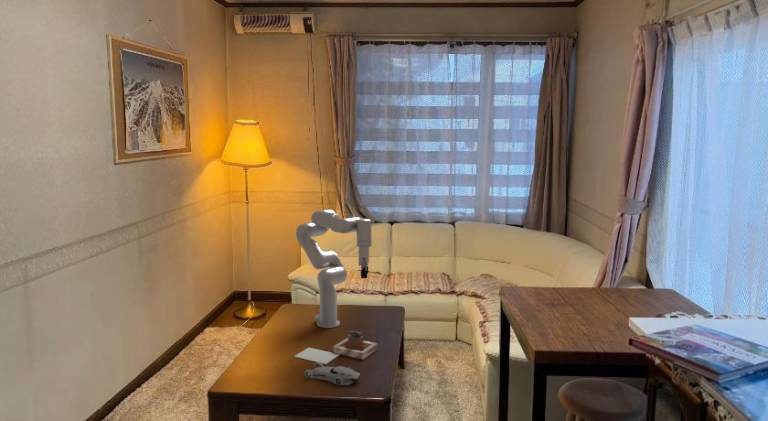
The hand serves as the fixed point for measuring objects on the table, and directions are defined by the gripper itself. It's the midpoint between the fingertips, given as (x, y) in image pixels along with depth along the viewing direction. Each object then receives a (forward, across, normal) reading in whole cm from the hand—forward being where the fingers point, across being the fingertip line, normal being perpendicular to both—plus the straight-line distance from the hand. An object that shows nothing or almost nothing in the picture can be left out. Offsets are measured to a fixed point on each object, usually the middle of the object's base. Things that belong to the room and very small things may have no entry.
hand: (364, 275), depth 274 cm
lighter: (+33, +18, -4) cm, 38 cm away
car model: (+34, +47, -11) cm, 59 cm away
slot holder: (+33, +18, -4) cm, 38 cm away
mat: (+33, +25, -22) cm, 47 cm away
